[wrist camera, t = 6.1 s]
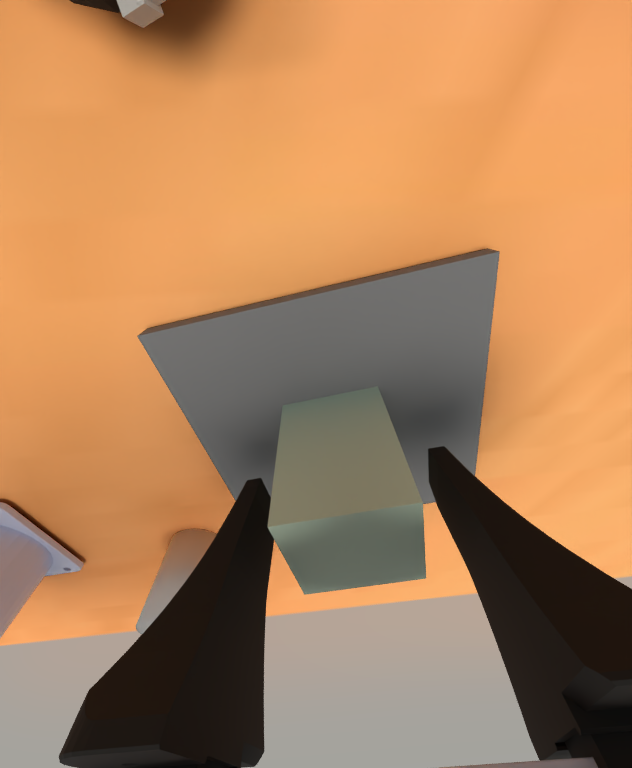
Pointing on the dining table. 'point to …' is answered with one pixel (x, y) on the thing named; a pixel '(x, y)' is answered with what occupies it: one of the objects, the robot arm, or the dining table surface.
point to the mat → (339, 363)
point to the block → (345, 495)
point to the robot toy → (129, 9)
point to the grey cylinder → (174, 571)
